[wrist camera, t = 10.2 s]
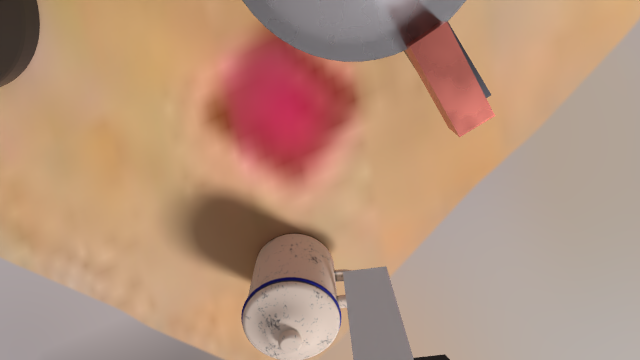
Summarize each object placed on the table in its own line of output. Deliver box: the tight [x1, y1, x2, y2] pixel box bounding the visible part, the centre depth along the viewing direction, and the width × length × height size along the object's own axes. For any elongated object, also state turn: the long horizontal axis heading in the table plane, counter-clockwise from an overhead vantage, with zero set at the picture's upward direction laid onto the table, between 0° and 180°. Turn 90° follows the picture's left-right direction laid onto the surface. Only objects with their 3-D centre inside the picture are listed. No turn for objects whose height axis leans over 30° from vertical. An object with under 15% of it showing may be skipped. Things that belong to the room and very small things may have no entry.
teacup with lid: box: [242, 234, 352, 360], centre depth 40 cm, size 12×9×12 cm
